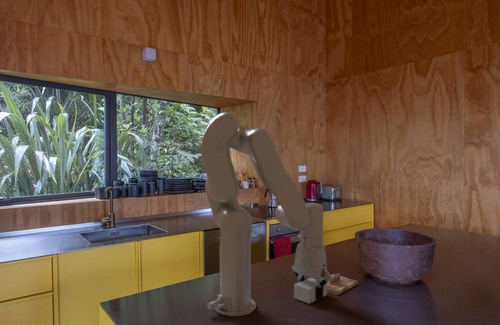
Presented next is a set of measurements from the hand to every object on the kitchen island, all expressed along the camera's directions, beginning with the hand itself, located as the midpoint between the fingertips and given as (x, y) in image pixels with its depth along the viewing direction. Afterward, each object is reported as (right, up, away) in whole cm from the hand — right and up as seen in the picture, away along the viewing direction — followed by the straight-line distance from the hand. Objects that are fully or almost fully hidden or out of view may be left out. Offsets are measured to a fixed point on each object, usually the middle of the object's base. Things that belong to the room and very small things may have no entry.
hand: (310, 294), depth 115 cm
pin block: (+10, -1, +10) cm, 14 cm away
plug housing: (0, -1, 0) cm, 1 cm away
